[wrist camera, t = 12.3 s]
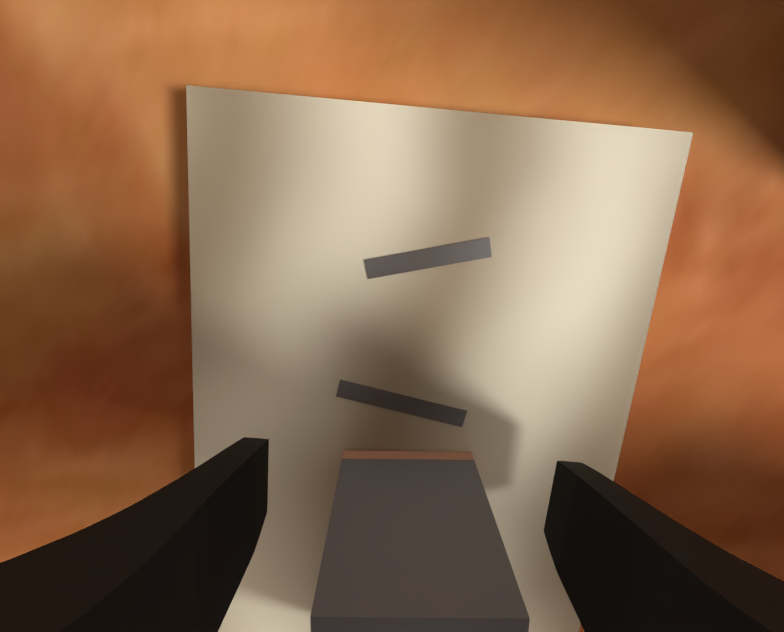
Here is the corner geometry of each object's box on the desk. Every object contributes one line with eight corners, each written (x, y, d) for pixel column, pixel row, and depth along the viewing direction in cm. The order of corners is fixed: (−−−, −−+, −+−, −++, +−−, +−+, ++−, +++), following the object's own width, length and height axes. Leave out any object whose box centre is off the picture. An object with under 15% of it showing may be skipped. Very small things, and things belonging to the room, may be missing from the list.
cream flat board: (661, 141, 11) (693, 132, 10) (552, 648, 15) (567, 686, 14) (208, 100, 11) (185, 84, 10) (214, 627, 15) (198, 663, 13)
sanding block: (471, 451, 12) (530, 618, 7) (460, 622, 13) (501, 863, 8) (343, 450, 12) (310, 617, 7) (345, 622, 13) (319, 862, 8)
